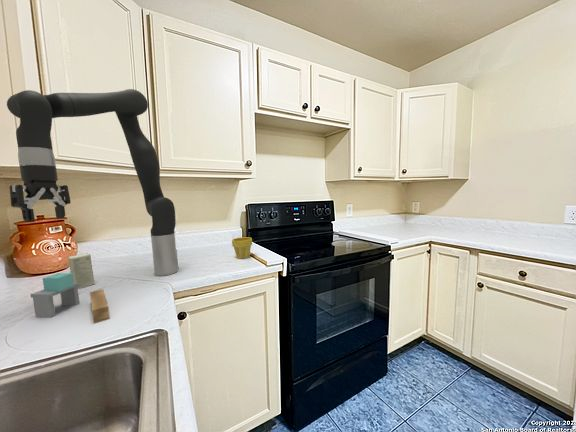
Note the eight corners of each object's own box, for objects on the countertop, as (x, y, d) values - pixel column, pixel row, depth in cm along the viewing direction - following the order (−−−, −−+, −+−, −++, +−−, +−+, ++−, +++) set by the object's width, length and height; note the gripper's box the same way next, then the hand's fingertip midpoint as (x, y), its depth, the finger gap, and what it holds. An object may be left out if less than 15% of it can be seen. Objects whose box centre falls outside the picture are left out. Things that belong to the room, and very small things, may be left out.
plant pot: (235, 254, 135) (234, 237, 134) (254, 254, 135) (253, 236, 134) (230, 260, 125) (229, 241, 124) (250, 259, 124) (249, 240, 123)
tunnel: (64, 303, 81) (61, 282, 80) (80, 303, 80) (78, 282, 79) (34, 317, 72) (30, 294, 71) (52, 317, 71) (49, 294, 71)
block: (59, 285, 78) (58, 272, 77) (73, 285, 77) (72, 273, 77) (44, 291, 73) (42, 278, 73) (59, 291, 73) (57, 278, 72)
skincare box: (92, 282, 100) (88, 252, 98) (95, 284, 97) (91, 254, 96) (71, 287, 95) (67, 256, 94) (74, 289, 92) (70, 258, 91)
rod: (104, 300, 83) (103, 289, 82) (109, 319, 70) (108, 306, 69) (91, 303, 80) (90, 292, 80) (94, 324, 67) (92, 310, 67)
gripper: (51, 167, 79) (58, 217, 80) (-5, 163, 65) (5, 224, 66) (73, 166, 78) (79, 217, 80) (21, 161, 64) (30, 223, 66)
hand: (46, 220), depth 73 cm, fingers open, 8 cm apart
